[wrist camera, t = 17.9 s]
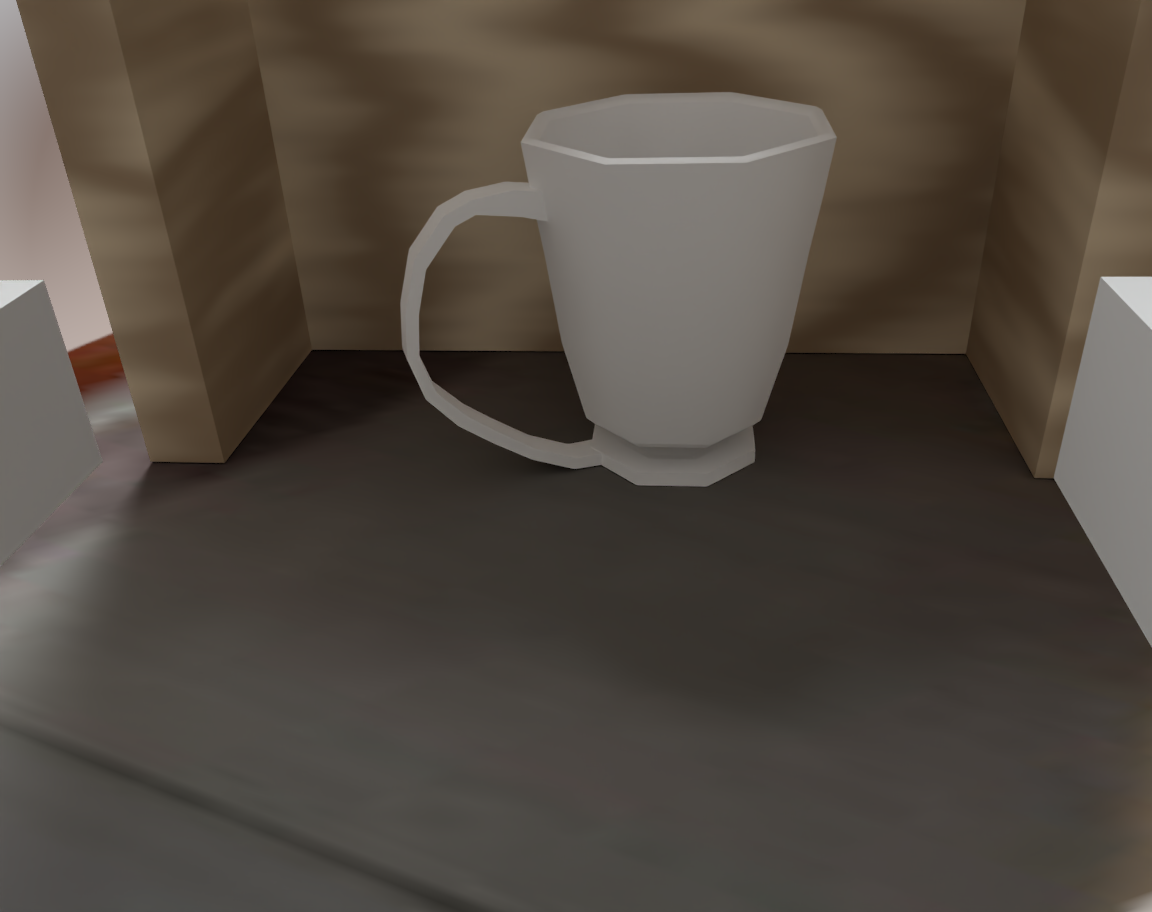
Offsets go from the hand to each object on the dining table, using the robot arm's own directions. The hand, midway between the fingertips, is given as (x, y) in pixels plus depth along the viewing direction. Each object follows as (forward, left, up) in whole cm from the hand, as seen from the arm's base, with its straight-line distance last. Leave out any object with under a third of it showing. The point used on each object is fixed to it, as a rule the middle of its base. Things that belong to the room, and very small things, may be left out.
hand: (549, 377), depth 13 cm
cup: (0, -11, -8) cm, 13 cm away
